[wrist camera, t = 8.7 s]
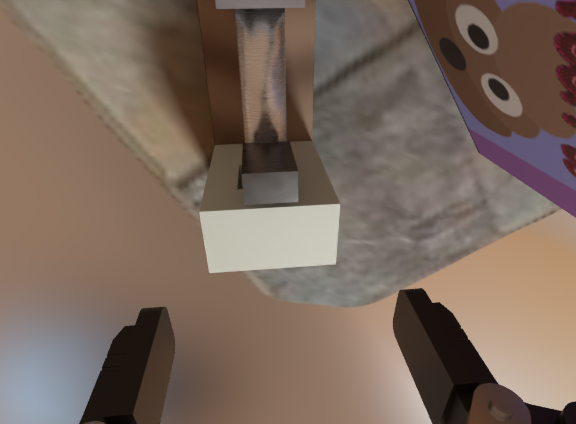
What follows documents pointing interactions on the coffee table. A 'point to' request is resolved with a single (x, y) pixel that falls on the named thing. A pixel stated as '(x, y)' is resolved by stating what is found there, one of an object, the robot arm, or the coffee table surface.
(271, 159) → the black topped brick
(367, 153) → the coffee table surface
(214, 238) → the socket block
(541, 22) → the cereal box
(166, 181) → the coffee table surface
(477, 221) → the coffee table surface
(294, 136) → the board
